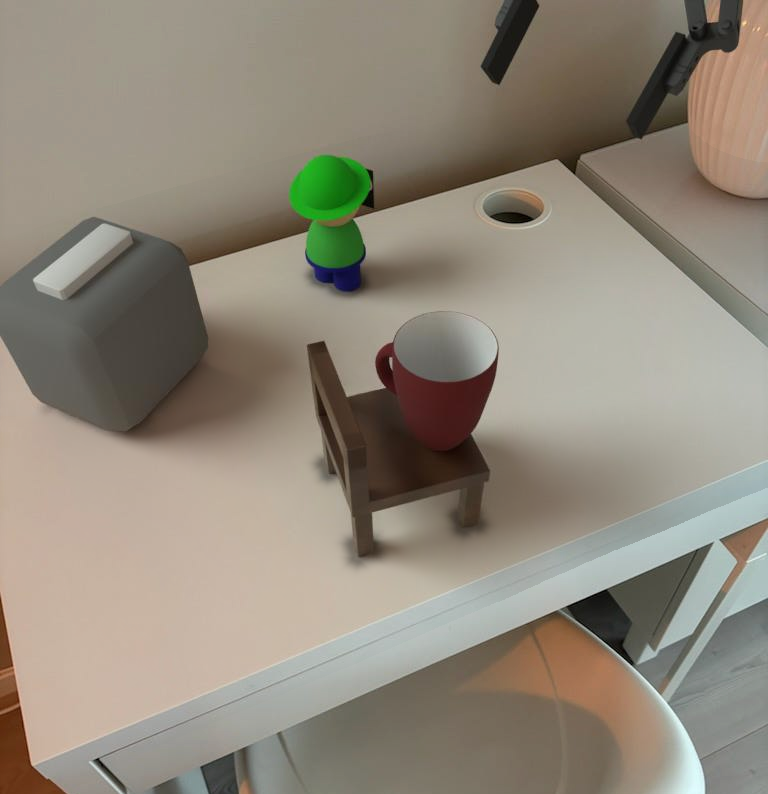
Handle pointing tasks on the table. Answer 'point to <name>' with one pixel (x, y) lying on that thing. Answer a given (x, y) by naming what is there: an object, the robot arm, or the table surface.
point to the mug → (440, 375)
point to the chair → (386, 454)
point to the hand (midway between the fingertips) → (558, 102)
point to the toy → (333, 216)
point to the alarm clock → (103, 323)
